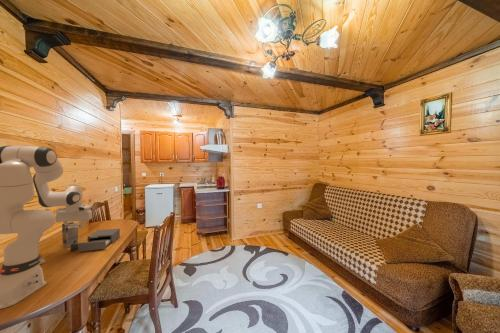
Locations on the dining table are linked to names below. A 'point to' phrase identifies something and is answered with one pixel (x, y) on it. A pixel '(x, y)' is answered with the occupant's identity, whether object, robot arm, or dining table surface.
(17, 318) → the dining table surface
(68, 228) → the disc
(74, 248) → the grey rounded piece
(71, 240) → the coffee box
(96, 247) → the tray
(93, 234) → the housing
